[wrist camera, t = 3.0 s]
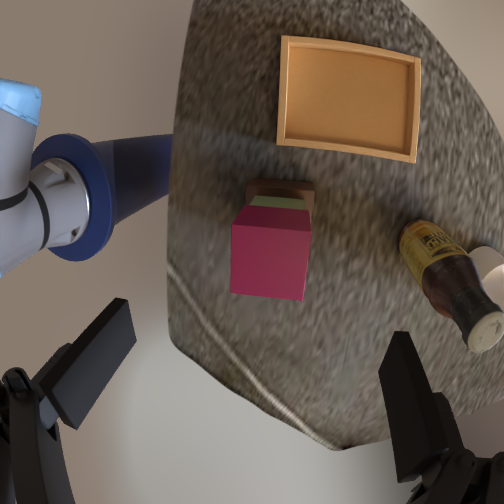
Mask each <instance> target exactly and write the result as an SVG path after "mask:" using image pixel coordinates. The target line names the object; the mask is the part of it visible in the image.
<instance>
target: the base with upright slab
mask: <svg viewBox="0 0 504 504" xmlns="http://www.w3.org/2000/svg"><path fill="white" fill-rule="evenodd" d="M468 255H470V257H471V258H472V259H473V260H474V261H475V263H476V266H477V269H478V272H479V275H480V278H481V281H482V284H483V287H484V290H485V291H486V294H487V295H488V296H489V297H490V298H491V300H492V301H493V302H494V303H496V304H498V305H499V306H500V307H501V309H502V310H503V312H504V257H503V256H501V255H500V254H499V253H498V252H496V251H495V250H494V249H493V248H491V247H488V246H481V247H479V248H476V249H474V250H473V251H471V252H470V253H469V254H468Z"/></svg>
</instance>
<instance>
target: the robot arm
mask: <svg viewBox="0 0 504 504" xmlns="http://www.w3.org/2000/svg"><path fill="white" fill-rule="evenodd" d="M41 101H42V94H41V91H40V90H39V88H38V87H36V86H34V85H31V84H27V83H23V82H18V81H13V80H7V79H2V78H0V278H1V277H2V276H3V275H5V274H6V273H7V272H9V271H10V270H12V269H13V268H15V267H16V266H17V265H19V264H20V263H22V262H23V261H25V260H26V259H28V258H29V257H31V256H32V255H34V254H35V253H36V252H38V251H40V250H41V249H43V248H49V247H57V246H65V245H68V244H71V243H73V242H75V241H77V240H78V239H80V238H81V237H82V236H83V235H84V234H85V233H86V231H87V229H88V227H89V225H90V221H91V217H92V198H91V193H90V189H89V186H88V183H87V181H86V178H85V176H84V175H83V173H82V171H81V170H80V169H79V168H78V166H77V165H76V164H74V163H73V162H72V161H70V160H69V159H66V158H63V157H56V158H51V159H48V160H45V161H44V162H42V163H40V164H39V165H38V166H36V167H35V168H34V169H33V170H31V171H30V167H31V159H32V152H33V145H34V140H35V135H36V130H37V126H38V125H39V121H38V118H39V111H40V106H41ZM136 341H137V340H136V336H135V332H134V327H133V323H132V319H131V314H130V309H129V304H128V300H126V299H121V298H115V299H114V300H113V301H112V302H111V303H110V304H109V305H108V306H107V307H106V308H105V309H104V310H103V311H102V312H101V313H100V314H99V315H98V317H96V319H95V320H94V321H93V322H92V323H91V324H90V325H89V326H88V327H87V328H86V329H85V330H84V331H83V333H82V334H81V335H80V336H79V337H78V338H77V339H76V340H75V341H74V342H73V344H70V343H67V344H65V345H64V346H62V347H60V348H59V349H58V350H57V351H56V352H55V354H54V355H53V356H52V357H51V358H50V359H49V361H48V362H46V364H45V365H44V366H43V367H42V368H41V369H40V371H39V372H38V373H37V374H36V375H35V376H34V377H33V378H32V380H31V381H30V379H29V377H28V376H27V374H26V372H25V371H24V370H23V369H22V368H19V367H14V368H11V369H9V370H8V371H6V372H5V374H4V375H3V377H2V382H3V383H4V384H3V383H2V382H1V380H0V504H15V500H16V501H17V504H75V501H74V497H73V494H72V490H71V486H70V482H69V478H68V475H67V470H66V465H65V461H64V456H63V451H62V446H61V440H60V433H59V426H58V423H57V421H56V420H57V418H58V417H60V418H61V420H62V421H63V423H64V424H66V425H68V426H70V427H72V428H74V429H76V430H77V429H78V428H79V426H80V425H81V423H82V422H83V420H84V418H85V417H86V415H87V414H88V412H89V411H90V409H91V407H92V406H93V405H94V403H95V402H96V400H97V399H98V397H99V395H100V394H101V392H102V391H103V389H104V388H105V386H106V385H107V383H108V382H109V380H110V379H111V378H112V376H113V374H114V373H115V372H116V370H117V369H118V367H119V366H120V364H121V363H122V361H123V360H124V359H125V357H126V355H127V354H128V353H129V351H130V350H131V348H132V347H133V346H134V344H135V343H136ZM378 374H379V378H380V383H381V387H382V392H383V396H384V401H385V406H386V411H387V416H388V422H389V427H390V433H391V439H392V445H393V451H394V458H395V464H396V473H397V481H398V483H402V482H409V481H414V480H416V478H418V477H419V476H420V475H422V482H420V483H419V484H418V485H417V486H416V487H414V488H413V489H412V490H411V492H414V491H415V492H414V493H413V495H412V496H411V497H410V499H409V500H408V502H407V503H406V504H504V452H499V453H497V454H496V455H495V456H494V457H493V458H478V457H475V455H474V453H472V452H471V451H470V450H468V449H465V448H464V446H463V443H462V439H461V436H460V433H459V430H458V427H457V424H456V421H455V419H454V415H453V412H451V410H452V409H451V407H450V404H449V401H448V400H447V398H446V397H445V396H444V395H443V394H442V392H437V393H432V390H431V388H430V385H429V382H428V379H427V377H426V374H425V371H424V369H423V366H422V364H421V361H420V358H419V356H418V353H417V351H416V349H415V346H414V344H413V341H412V339H411V337H410V334H409V332H405V331H394V334H393V336H392V339H391V342H390V344H389V347H388V349H387V352H386V354H385V357H384V359H383V361H382V364H381V366H380V368H379V371H378Z"/></svg>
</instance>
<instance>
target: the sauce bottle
mask: <svg viewBox="0 0 504 504" xmlns="http://www.w3.org/2000/svg"><path fill="white" fill-rule="evenodd" d="M399 250H400V253H401V256H402V258H403V260H404V261H405V263H406V264H407V266H408V268H409V269H410V271H411V272H412V274H413V276H414V277H415V279H416V281H417V282H418V284H419V286H420V287H421V289H422V291H423V293H424V294H425V296H426V297H427V298H428V299H429V301H430V303H431V305H432V306H433V308H434V309H435V310H436V311H437V312H438V313H440V314H441V315H443V316H445V317H449V318H451V319H453V320H454V322H456V324H457V325H458V327H459V328H460V330H461V332H462V338H463V341H464V342H465V344H466V345H467V347H468V349H469V350H470V351H472V352H474V353H477V352H484V351H486V350H488V349H490V348H491V347H492V346H494V345H495V344H496V343H497V342H498V341H499V340H500V338H501V337H502V335H503V334H504V312H503V310H502V309H501V307H500V306H499V305H498V304H496V303H494V302H493V301H492V300H491V298H490V297H489V296H488V295H487V294H486V291H485V290H484V287H483V284H482V281H481V278H480V275H479V272H478V269H477V266H476V263H475V261H474V260H473V259H472V258H471V257H470V255H468V254H467V253H466V252H465V251H464V250H463V249H462V248H461V247H460V246H459V245H458V244H457V243H456V242H455V241H454V240H452V239H451V238H450V237H449V236H448V235H447V234H446V233H444V232H443V231H442V230H441V229H440V228H439V227H438V226H436V225H435V224H434V223H432V222H429V221H428V220H425V219H419V220H414V221H412V222H410V223H408V224H407V225H406V226H405V228H404V229H403V230H402V232H401V233H400V236H399Z"/></svg>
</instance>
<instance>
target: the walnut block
mask: <svg viewBox="0 0 504 504" xmlns="http://www.w3.org/2000/svg"><path fill="white" fill-rule="evenodd" d="M255 196H269V197H281V198H292V199H303V200H304V201H305V210H308V211H309V215H310V222H311V225H312V216H313V207H314V197H315V189H314V186H313V183H311V182H301V181H290V180H278V179H265V178H252V179H251V181H250V182H249V183H248V184H247V185H246V200H245V205H250V203H251V202H252V200H253V199H254V197H255Z"/></svg>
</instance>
